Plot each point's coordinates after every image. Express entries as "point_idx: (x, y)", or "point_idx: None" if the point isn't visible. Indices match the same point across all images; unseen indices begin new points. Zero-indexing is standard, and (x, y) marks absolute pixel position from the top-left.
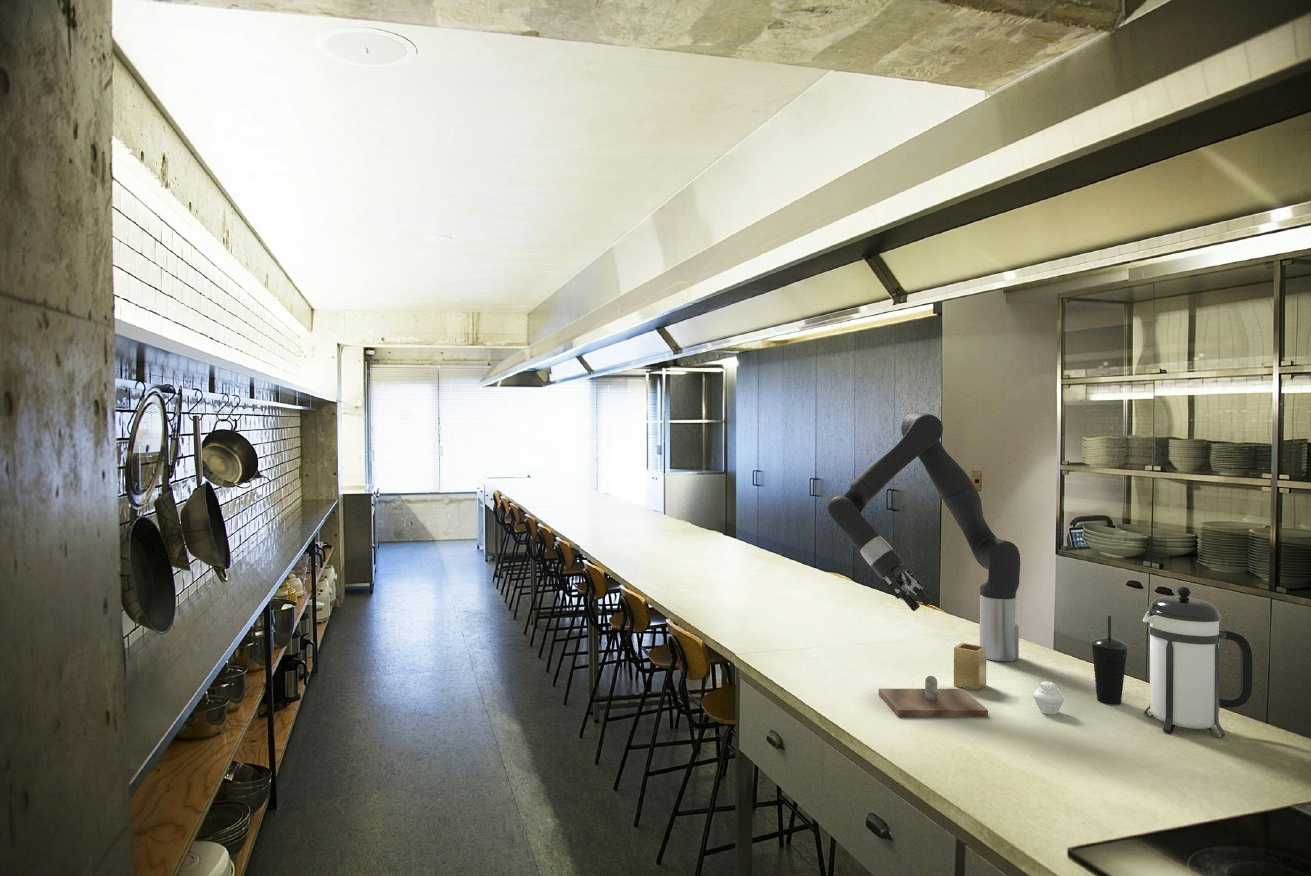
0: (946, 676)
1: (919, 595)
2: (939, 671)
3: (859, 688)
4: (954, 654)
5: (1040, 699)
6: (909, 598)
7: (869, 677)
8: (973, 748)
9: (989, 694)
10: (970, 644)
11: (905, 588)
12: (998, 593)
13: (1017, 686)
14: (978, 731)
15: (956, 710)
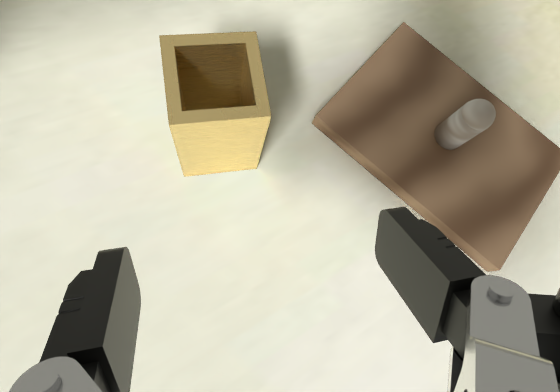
0: (185, 223)
1: (124, 364)
2: (149, 265)
3: None
4: (267, 126)
5: None
6: (473, 267)
7: (390, 387)
8: (549, 5)
9: None
10: (171, 89)
11: (521, 340)
12: None
13: (123, 49)
14: (479, 22)
15: (459, 68)
